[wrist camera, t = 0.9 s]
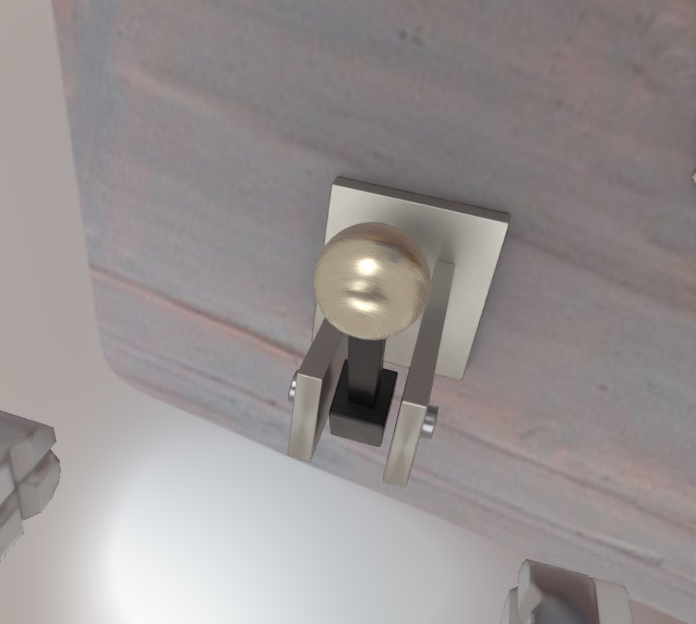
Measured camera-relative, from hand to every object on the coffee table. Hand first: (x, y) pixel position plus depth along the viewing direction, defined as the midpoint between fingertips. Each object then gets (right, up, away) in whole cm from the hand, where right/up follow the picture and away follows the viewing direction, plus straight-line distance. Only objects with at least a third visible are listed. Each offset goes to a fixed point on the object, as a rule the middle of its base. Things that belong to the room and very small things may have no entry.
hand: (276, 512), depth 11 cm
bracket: (+4, +5, +25) cm, 26 cm away
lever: (+2, +3, +12) cm, 12 cm away
